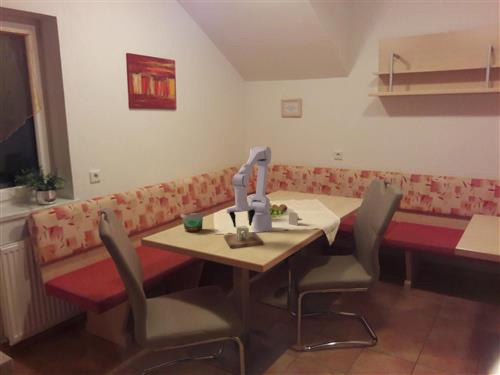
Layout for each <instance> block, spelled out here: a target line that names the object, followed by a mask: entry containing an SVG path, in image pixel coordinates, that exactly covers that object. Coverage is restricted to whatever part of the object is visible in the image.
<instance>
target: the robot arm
mask: <svg viewBox="0 0 500 375" xmlns="http://www.w3.org/2000/svg"><path fill="white" fill-rule="evenodd" d="M271 159H272V149H271V147H270V146H251V147H250V150H249V157H248V159H247V162H246V163H244V164H242V165H241V167H240V168H239V170H238V172H237V173H235V174H234V175H233V176H232V180H231V183H232V186H233V190H234V198H235V199H234V200H235V207H229V208H226V214H228V215H229V217H230V218H231V221H232V225H233V227H234V228H236V227H237V223H236V214H235V213H241V212H247V211H248V212H247V216H248V215H249V220H248V225H249V226H252V222H253V226H252V227H251V229H252V232H255V233H262V232H269V231H270V232H271V231H273V219H272V214H271V212H270V211H271V205H270V204H271V203H270V202H271V200H270V199H269V197H268V196H267V195H266V189H267V180H268V179H267V178H268V169H269V164H270V163H271ZM256 164H257V165H258V166H257V177H256V178H257V179H256V186H255V194H256V195H255V196H253V197H252V198H251V202H250V205H249V206H247V196H248V190H247V189H248V187H247V186H248V185H249V183H250V182H249V181H250V176H252V173H253V172H254V166H255V165H256ZM257 200H261V201H257ZM252 219H253V221H252Z"/></svg>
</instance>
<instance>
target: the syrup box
mask: <svg viewBox="0 0 500 375" xmlns="http://www.w3.org/2000/svg"><path fill="white" fill-rule="evenodd" d="M255 195H256V193H253V194H250V195H247V206H249V205H250V202H251V198H252V197H253V196H255ZM257 201H261V200H257ZM246 212H247V213H248V211H246ZM247 221H249V215H248V214H247ZM252 222H253V219H252Z"/></svg>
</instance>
